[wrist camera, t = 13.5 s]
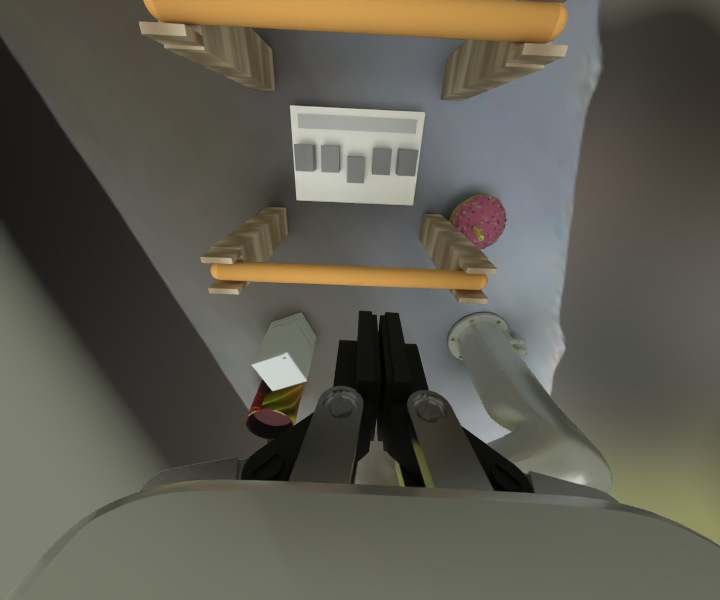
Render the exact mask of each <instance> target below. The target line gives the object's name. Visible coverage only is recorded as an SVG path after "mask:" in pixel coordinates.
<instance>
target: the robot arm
mask: <svg viewBox="0 0 720 600" xmlns="http://www.w3.org/2000/svg"><path fill="white" fill-rule="evenodd" d="M524 344H525V341H524V339H522V338H516V339H513V338H512V337H511V336H510V333H509V328H508V326H507V324H506V323H505V321H504V320H503V319H502V318H500V317H499V316H497V315H495V314H491V313H476V314H472V315H469V316H467V317H465V318H463V319H461V320H460V321H459V322H457V323H456V324H455V325H454V326H453V328H452V329H451V331H450V333H449V335H448V347H449V349H450V351H451V353H452V354H453V355H454V356H455V357H456V358H458V359H459V360H462V361H463V362H464V364H465V366H466V368H467V371H468V373H469V375H470V377H471V379H472V381H473V384H474V386H475V388H476V390H477V392H478V394H479V397H480V399H481V401H482V403H483V405H484V407H485V410H486V411H487V413H488V414H489V416H490V417H491V418H492V419H493V420H494V421H495V422H496V423H497V424H499V425H500V426H502V427H504V428H505V429H507V430H509V431H511V433H509V434H507V435H505V436H504V437H501V438H499V439H496V440H494V441H492V442H489V443H487V444H486V443H484V442H483V441H481V440H480V439H479V438H477V437H476V436H474V435H473V434H472V433H470V432H469V431H468V430H466V429H465V428H463V427H462V426H461V425H460V423H459V421H458V419H457V417H456V415H455V413H454V411H453V409H452V407H451V405H450V404H449V402H448V401H447V400H446V399H445V398H444V397H443V396H441V395H439V394H438V393H436V392H432V391H429V389H428V385H427V382H426V378H425V374H424V370H423V366H422V362H421V359H420V355H419V351H418V347H417V345H416V344H405V342H404V337H403V332H402V327H401V322H400V317H399V313H391V312H386V313H385V315H380V322H379V331H378V326H377V315H372V311H359V321H358V337H357V341H350V340H339V347H338V355H337V362H336V370H335V378H334V385H333V387H332V388H329V389H327V390H326V391H325V392H324V393H322V395H321V396H320V398H319V400H318V403H317V406H316V408H315V411H314V412H313V413H312V414H310V415H309V416H308V417H306V418H305V419H303V420H302V421H300V422H299V423H297V424H296V425H294V426H293V427H291V428H290V429H288V430H287V431H286V432H284V433H283V434H281V435H280V436H278V437H277V438H275V439H274V440H272V441H271V442H269V443H268V444H267V445H265V446H264V447H262V448H261V449H259V450H258V451H256V452H255V453H254V454H253V455H252V456H251V457H250V458H247V459H242V460H240V459H239V457H233V458H227V459H222V460H216V461H211V462H205V463H199V464H194V465H188V466H182V467H176V468H171V469H168V470H165V471H162V472H160V473H158V474H157V475H155V476H154V477H152V478H151V479H150V480H149V481H148V482H147V483H146V484H145V485H144V486H143V487H142V488H141V490H140V491H139V492H137V493H134V494H131V495H128V496H126V497H124V498H121V499H118V500H116V501H114V502H111V503H109V504H107V505H105V506H103V507H101V508H99V509H97V510H96V511H94V512H92V513H91V514H89V515H88V516H86V517H84V518H83V519H82V520H80V521H79V522H78V523H77V524H75V525H74V526H73V527H72V528H70V529H69V530H68V531H67V532H66V533H65V534H64V535H63V536H62V537H61V538H60V539H58V540H57V542H55V543H54V545H53V546H52V547H51V548H50V549H49V550H48V551H47V552H46V553H45V554H44V555H43V556H42V557H41V558H40V559H39V560H38V562H37V563H36V564H35V565H34V566H33V567H32V568H31V570H30V571H29V572H28V573H27V574H26V575H25V576H24V577H23V579H22V580H21V581H20V582H19V583H18V584H17V585H16V586H15V588H14V589H13V590H12V591H11V592H10V594H9V595H8V596H7V597H6V598H5V600H720V546H719V545H718V544H717V543H715V542H713V541H712V540H711V539H709V538H707V537H705V536H703V535H702V534H700V533H698V532H696V531H694V530H692V529H690V528H688V527H686V526H684V525H682V524H680V523H678V522H675V521H673V520H670V519H668V518H665V517H663V516H660V515H658V514H655V513H653V512H650V511H647V510H644V509H640V508H637V507H633V506H630V505H626V504H622V503H619V502H618V501H617V500H616V499H614V498H613V497H612V496H610V495H609V494H607V493H608V492H609V490H610V489H611V487H612V483H613V476H612V471H611V468H610V466H609V464H608V462H607V460H606V459H605V458H604V456H603V454H602V453H601V452H600V450H599V449H598V448H597V447H596V446H595V444H594V443H593V442H592V441H591V440H590V439H589V438H588V437H587V436H586V435H585V434H584V433H583V432H582V431H581V430H580V429H579V428H578V427H577V426H576V425H575V424H574V423H573V422H572V421H571V420H570V419H569V418H568V417H567V416H566V415H565V413H564V412H563V411H562V410H561V409H560V408H559V407H558V406H557V404H556V403H555V402H554V400H553V399H552V398H551V397H550V395H549V394H548V393H547V392H546V390H545V389H544V388H543V386H542V385H541V383H540V382H539V381H538V380H537V378H536V377H535V375H534V374H533V373H532V371H531V370H530V369H529V367H528V366H527V365H526V363H525V362H524V361H523V359H522V358H521V356H526V355H527V349H526V348H525V347H513V345H524ZM376 419H377V435H378V441H383V448H384V451H387V453H388V454H389V455H390V456H391V457H392V458H394V459H395V466H396V472H397V476H398V480H399V484H400V486H382V485H360V484H355V480H356V474H357V468H358V461H359V460H361V459H362V458H363V457H364V456H365V455H366V454H367V453H368V452H369V447H370V441H374V434H375V426H376Z"/></svg>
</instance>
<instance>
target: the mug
mask: <svg viewBox="0 0 720 600" xmlns="http://www.w3.org/2000/svg"><path fill="white" fill-rule="evenodd" d="M303 386H304V382H303V383H299V384H295V385H292V386H289V387H285V388H282V389H279V390H275V391H272V390H271V389H270V388H269V386H268V385H267V384H266V382H265V381H264V380H263V379H262V382H261V384H260V386H259V389H258V391H257V394H256V396H255V399H254V401H253V403H252V406H251V408H250V411H249V413H248V416H247V418H246V426H247V428H248V429H249V430H250V432H252V433H253V434H255V435H256V436H258V437H261V438H264V439H268V442H267V443H269V442H271V441H272V440H274V439H275V438H277V437H278V436H280V435H281V434H283V433H284V432H286V431H287V430H288V429H290V428H291V427H293V426H294V425H295V421H296V416H297V412H298V408H299V403H300V399H301V395H302V391H303Z"/></svg>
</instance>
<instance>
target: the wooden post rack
mask: <svg viewBox="0 0 720 600" xmlns="http://www.w3.org/2000/svg"><path fill="white" fill-rule="evenodd" d="M511 1H528V2H545V3H559V4H563V3H564V2H565V1H567V0H511ZM158 22H159V23H154V22H139V25H140V29H141V33H142V34H143V35H145V36H147V37H149V38H152V39H154V40H156V41H158V42H160V43H162V44H164V47H165V48H166V49H168V50H170V51H172V52H174V53H176V54H178V55H181V56H183V57H185V58H187V59H189V60H191V61H193V62H195V63H198V64H200V65H202V66H204V67H206V68H208V69H210V70H212V71H215V72H217V73H219V74H221V75H223V76H225V77H227V78H229V79H232V80H234V81H236V82H238V83H240V84H242V85H244V86H246V87H249V88H251V89H253V90H264V91H276V90H275V78H274V67H273V56H272V49H271V48H270V47H269V46H268V45H267V44H266V43H265V42H264V41H263V40H262V39H261V38H260V37H259V35H258V34H257V33H256V32H255V31H254V30H253V29H252V28H251V27H235V26H216V25H198V24H180V23H165V22H162V21H160V20H158ZM551 42H552V41H551ZM551 42H548V43H543V44H542V43H524V42H506V41H488V40H470V39H467V40H466V41H465V42H464V43H463V44H462V45H461V46H460V47H459V48H458V49H457V50H456V51H455V52H454V53H452V54H451V55H450V56H449V57H448V58H447V62H446V69H445V75H444V82H443V89H442V95H441V100H459V101H463V100H465V99H468V98H470V97H473V96H475V95H478V94H480V93H483V92H485V91H488V90H490V89H493V88H495V87H498V86H500V85H503V84H506V83H508V82H511V81H513V80H516V79H518V78H521V77H523V76H526V75H528V74H531V73H533V72H536V71H538V70H541V69H543V68H544V66H545V65H546V64H548V63H551V62H553V61H556V60H558V59H561V58H563V57H565V54H566V51H567V48H568V45H553V44H551ZM287 235H288V224H287V213H286V207H267V208H265V209H264V210H263V211H261V212H260V213H258V214H257V215H255V216H254V217H253V218H251V219H250V220H248V221H247V222H246V223H244V224H243V225H241V226H240V227H239V228H237V229H236V230H234V231H233V232H231V233H230V234H229V235H227V236H226V237H224V238H223V239H222V240H220V241H219V242H217V243H216V244H215V245H213V246H212V249H211V250H209V251H208V252H206V253H205V254H204V255H202V256H201V257H200V258H201V262H202V263H221V264H233V263H234V262H235V261H238V262H263V263H266V261H267V260H268V259H269V258H270V256H271V255H272V254H273V252H274V251H275V250H276V249H277V247H278V246H279V245H280V243H281V242H282V241H283V240H284V238H285V237H286V236H287ZM420 241H421V243H422V244H423V246H424V248H425V249H426V251H427V253H428V254H429V256H430V258H431V259H432V261H433V263H434V265H435V266H436V268H437V270H460V271H465V273H469V274H494V275H496V273H497V270H498V269H497V268H496V267H495V266H494V265H493V264H492V263H491V262H490V261H489V260H488V257H487V256H486V255H485V254H484V253H482V252H481V251H480V250H479V249H478V248H477V247H476V246H475V245H474V244H473V243H472V242H471V241H469V240H468V239H467V238H466V237H465V236H464V235H463V234H462V233H461V232H460V231H459V230H458V229H456V228H455V227H454V226H453V225H452V224H451V223H450V222H449V221H448V220H447V219H446V218H445V217H443V216H442V215H441V214H423V219H422V226H421V232H420ZM250 282H251V281H233V280H218V279H217V280H216V281H215V282H214V283H213V284H212V285H211V286H210V287H209V292H210V293H216V294H240V292H241V291H242V290H243V289H244V287H245V286H248V284H249V283H250ZM449 290H450V292H451V293H452V294H454V296H455V298H456V300H457V301H458V303H476V304H487V301H488V298H487V297H486V296H485V294H484V293H483V292H482V291H481V290H463V289H449Z"/></svg>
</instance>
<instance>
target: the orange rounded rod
mask: <svg viewBox="0 0 720 600" xmlns="http://www.w3.org/2000/svg"><path fill="white" fill-rule="evenodd" d="M143 1H144V4H145V6H146V7H147V9H148V10H149V12H150V13H151V14H152V15H153V16H154V17H155V18H156V19H158V20H160V21H162V22H165V23H180V24H198V25H216V26H235V27H253V28H271V29H289V30H307V31H325V32H343V33H361V34H379V35H397V36H416V37H434V38H452V39H470V40H488V41H506V42H524V43H542V44H543V43H548V42H551V41H553V40H554V39H555V38H557V37H558V36H559V34H560V33H561V32H562V31H563V29H564V27H565V25H566V22H567V10H566V8H565V6H564V5H562V4H559V3H545V2H528V1H511V0H143Z"/></svg>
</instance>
